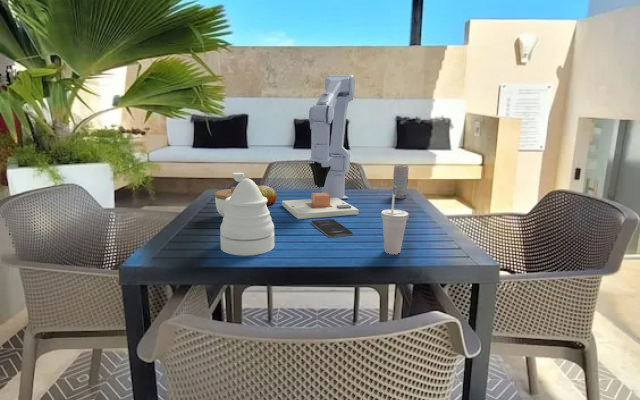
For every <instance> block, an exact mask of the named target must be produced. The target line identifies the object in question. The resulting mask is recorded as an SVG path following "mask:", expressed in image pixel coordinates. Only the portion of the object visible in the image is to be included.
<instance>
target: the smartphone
mask: <svg viewBox="0 0 640 400" xmlns="http://www.w3.org/2000/svg"><path fill="white" fill-rule="evenodd" d="M310 224H311V225H312V226H313V227H315V228H316V229H317V230H318V231H320V232H321V233H323V234H324V236H326V237H328V238H331V239H332V238H341V237H342V238H343V237H351V236H354V232H353V231H351V230H350V229H348V228H347V227H345V226H344V225H343V224H341V223H340V222H338V221H337V220H335V219H332V218H329V219H318V220H317V219H316V220H311V221H310Z"/></svg>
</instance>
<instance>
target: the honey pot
mask: <svg viewBox="0 0 640 400" xmlns="http://www.w3.org/2000/svg"><path fill="white" fill-rule="evenodd" d="M244 177H245V173H244V172H232V178H233V180H234V181H236V182H238V184H237V185H236V186H235V189H234V191H233V193H232V195H231V196H230V197H228V198H226V199H225V203H226V204H227V205H228V206H227V209H226V211H225V212H224V218H222V222H221V224H220V227H219V228H220V229H219V231H220V234H219V235H220V238H219V239H220V250H221V251H222V252H223V253H227V254H228V255H229V254H230V255H235V256H255V255H261V254H262V255H263V254H266V253H268V252H271V251H272V250H273V249H274V248H275V224H274V222H273V221H272V216H271V214H270V213H271V211H270V210H269V209H268V207H267V206H268V205H266V203H267V201H268V200H267V198H266V197H264V196H262V194H261V192H260V190H259V188H258V187H257V184H256V182H255V181H254V180H253V179H251V178H250V177H249V178H247V177H245V178H244Z"/></svg>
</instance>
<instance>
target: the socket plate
mask: <svg viewBox="0 0 640 400" xmlns="http://www.w3.org/2000/svg"><path fill="white" fill-rule="evenodd" d="M311 204H312V198H307V199H306V198H305V199H304V198H303V199H292V200H290V199H289V200H282V201H281V206H282V207H283V208H284V209H286V210H287V211H288V212H289V214H291V215H292V216H294V217H295V218H296V219H297V220H304V219H316V218H318V219H319V218H328V217H331V218H332V217H340V216H341V217H342V216H343V217H344V216H355V215H356V216H357V215H359V211H360V210H359V209H358V208H357V207H355V206H353V205H352V204H350V203H347V202H346V201H344V200H343V199H339V198H337V197H336V198H330V207H324V208H314V207H313V206H312V205H311Z"/></svg>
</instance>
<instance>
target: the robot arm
mask: <svg viewBox="0 0 640 400" xmlns="http://www.w3.org/2000/svg"><path fill="white" fill-rule="evenodd" d="M355 83H356V81H355V76H354V75H353V74H327V75H326V76H325V79H324V89H325V91H324V92H323V93H321V94H320V96H319V98H318V100H317V101H316V104H313V105H312V106H311V107H310V108H309V111H308V119H309V120H308V121H309V129H310V130H311V137H310V138H311V141H310V142H311V143H310V146H311V148H310V159H309V160H310V161H312V162H313V163H312V162H311V163H309V165H308V166H309V167H310V169H311V172H312V177H313V182H314V186H316V187H317V188H321V193H327V194H329V195H330V198H336V197H337V198H339V199H341V200H347V199H349V197H348V196H347V195H345V186H346V184H345V182H346V181H345V180H346V174H348V172H349V171H350V167H351V159H350V158H351V155H350V152H349V151H348V150H347V149H346V148H345V147H344V143H345V132H346V123H347V121H346V120H347V113H348V106H349V103H350V102H351V101H353V100H354V97H355V89H356V88H355V87H356V85H355ZM331 123H332V125H331ZM331 126H332V128H331ZM330 129H331V130H330ZM330 131H331V135H330Z"/></svg>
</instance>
